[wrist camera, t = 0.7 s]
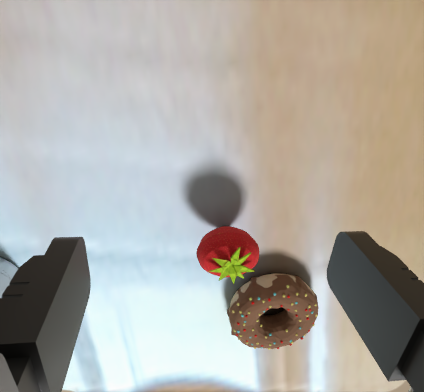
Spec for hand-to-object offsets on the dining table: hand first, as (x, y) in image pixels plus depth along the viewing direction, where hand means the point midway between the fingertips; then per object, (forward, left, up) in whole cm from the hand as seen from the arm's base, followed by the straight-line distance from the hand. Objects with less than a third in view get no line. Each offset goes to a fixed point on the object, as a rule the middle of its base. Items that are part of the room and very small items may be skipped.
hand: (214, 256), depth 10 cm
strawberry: (-8, -16, -27) cm, 33 cm away
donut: (-11, -32, -28) cm, 44 cm away
